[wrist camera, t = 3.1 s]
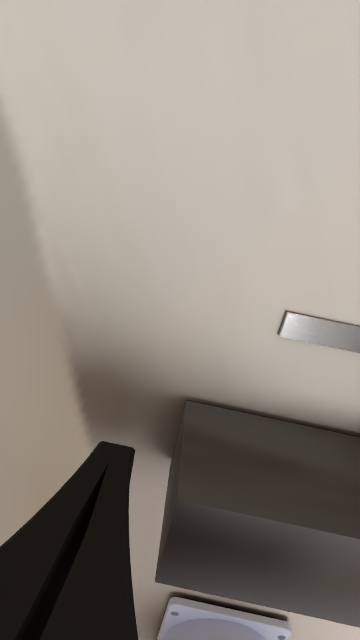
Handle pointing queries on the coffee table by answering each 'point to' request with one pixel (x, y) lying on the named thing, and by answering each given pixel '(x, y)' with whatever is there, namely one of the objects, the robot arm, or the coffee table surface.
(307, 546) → the cart
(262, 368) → the coffee table surface
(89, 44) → the coffee table surface
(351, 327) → the rail track
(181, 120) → the coffee table surface
